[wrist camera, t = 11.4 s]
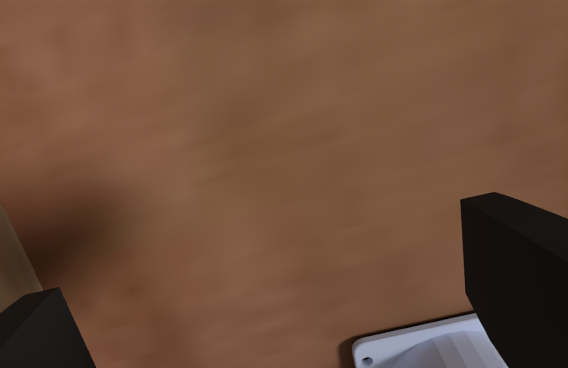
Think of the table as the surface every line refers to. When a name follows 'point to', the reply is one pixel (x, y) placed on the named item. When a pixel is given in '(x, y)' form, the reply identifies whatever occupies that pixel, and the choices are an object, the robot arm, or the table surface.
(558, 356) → the robot arm
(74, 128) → the table surface
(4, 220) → the walnut rail
